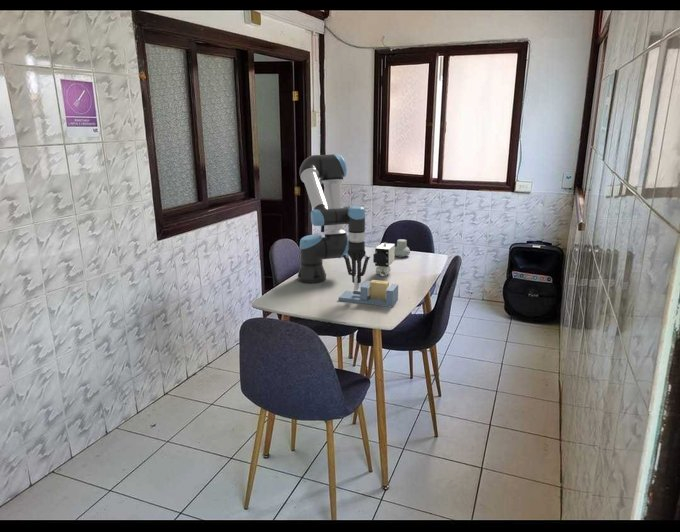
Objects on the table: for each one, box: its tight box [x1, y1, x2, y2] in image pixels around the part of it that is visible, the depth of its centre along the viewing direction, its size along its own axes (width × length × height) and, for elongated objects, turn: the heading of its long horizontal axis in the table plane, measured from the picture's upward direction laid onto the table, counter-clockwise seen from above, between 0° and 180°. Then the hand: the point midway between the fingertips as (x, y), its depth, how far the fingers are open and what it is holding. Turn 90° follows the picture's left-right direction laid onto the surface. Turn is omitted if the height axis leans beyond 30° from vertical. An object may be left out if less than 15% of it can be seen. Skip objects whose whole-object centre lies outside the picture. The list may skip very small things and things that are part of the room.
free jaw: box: [353, 280, 372, 300], centre depth 228 cm, size 9×10×6 cm
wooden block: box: [370, 279, 390, 301], centre depth 225 cm, size 8×4×8 cm, turn 69°
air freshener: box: [395, 238, 411, 258], centre depth 302 cm, size 11×8×10 cm
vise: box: [338, 283, 399, 308], centre depth 228 cm, size 26×10×8 cm, turn 69°
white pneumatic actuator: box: [373, 242, 396, 277], centre depth 264 cm, size 18×8×18 cm, turn 159°
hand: (356, 289), depth 230 cm, fingers closed
